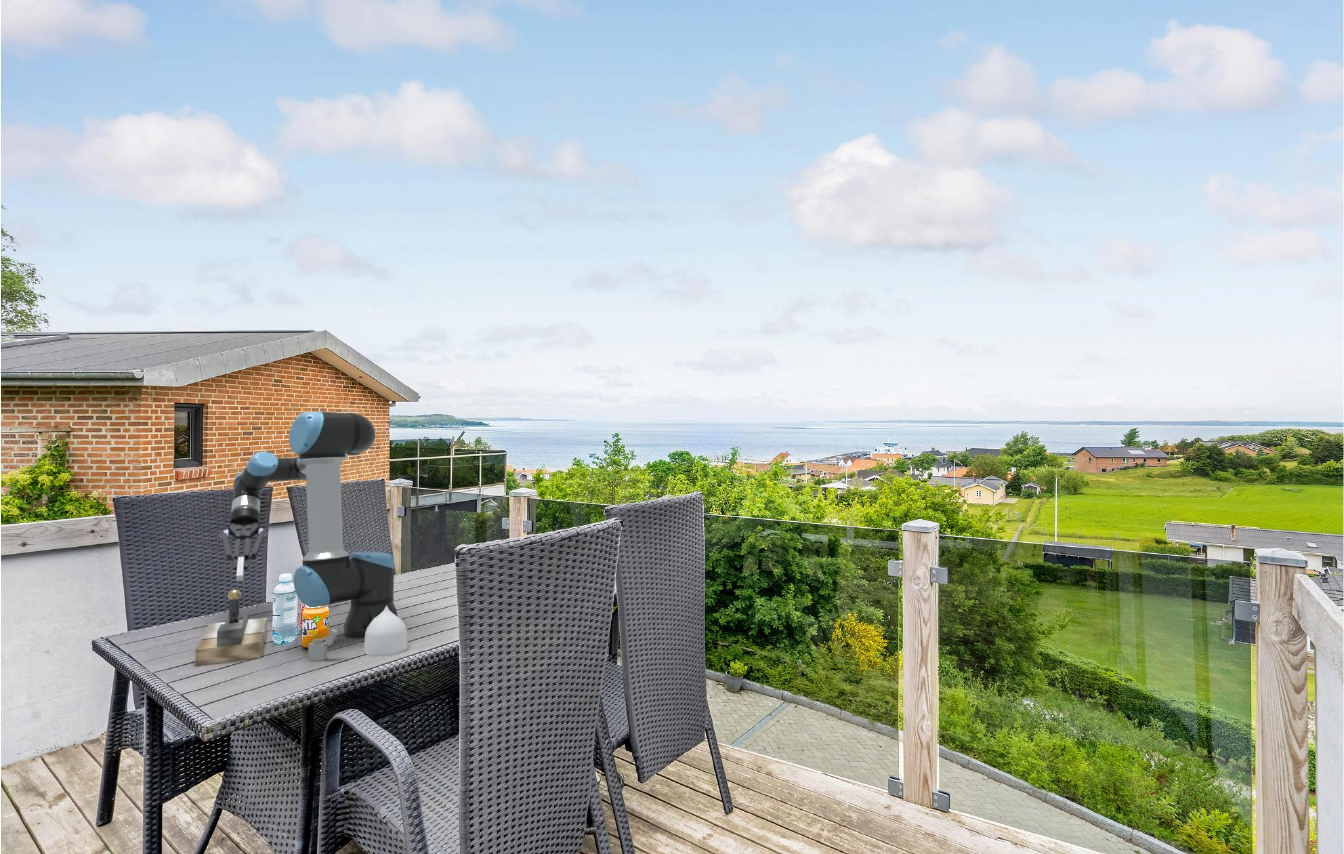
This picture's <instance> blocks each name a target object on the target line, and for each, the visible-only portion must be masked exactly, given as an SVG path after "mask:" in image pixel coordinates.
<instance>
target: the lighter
mask: <svg viewBox="0 0 1344 854" xmlns="http://www.w3.org/2000/svg"><path fill="white" fill-rule="evenodd" d="M339 631H340V629H337V628H335V627H334V628H332V629H331V631H330V632H329V635H328V636H327V638H326V640H325V641H323V638H315V639H312V642H310V643H308V644H307V645H308V651H307V658H308V659H307V661H309V662H319V661H320V662H324V661H323V660H325V659H326V660H328V647H331V645H332V644H333V643H334V641H335V639H336V637H337V636H338V634H339ZM326 660H325V661H326Z"/></svg>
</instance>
